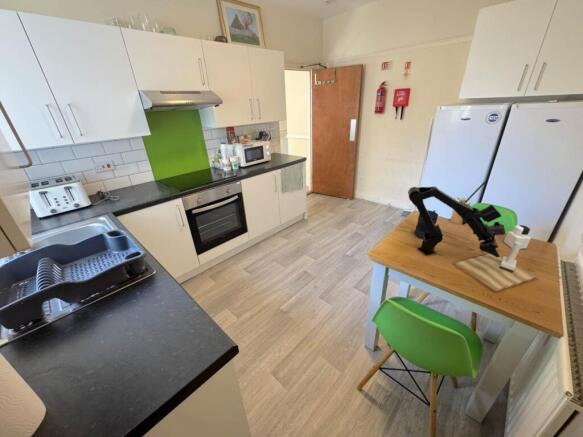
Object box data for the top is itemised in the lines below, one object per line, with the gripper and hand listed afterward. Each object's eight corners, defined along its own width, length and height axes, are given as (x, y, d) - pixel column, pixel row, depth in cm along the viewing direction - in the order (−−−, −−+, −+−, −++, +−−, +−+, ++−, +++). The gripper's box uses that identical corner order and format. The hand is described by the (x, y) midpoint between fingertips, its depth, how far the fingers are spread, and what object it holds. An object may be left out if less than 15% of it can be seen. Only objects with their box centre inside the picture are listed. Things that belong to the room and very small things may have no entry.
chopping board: (494, 292, 104) (495, 289, 104) (454, 264, 121) (455, 262, 121) (535, 278, 111) (536, 276, 110) (491, 254, 128) (492, 252, 127)
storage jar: (410, 233, 149) (416, 207, 141) (421, 229, 152) (428, 204, 144) (424, 241, 141) (431, 214, 133) (435, 237, 144) (443, 210, 136)
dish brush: (512, 273, 113) (524, 248, 106) (499, 268, 116) (510, 244, 109) (514, 265, 118) (526, 241, 111) (501, 260, 121) (512, 237, 114)
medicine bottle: (516, 241, 137) (525, 223, 132) (526, 249, 131) (535, 230, 125) (503, 241, 138) (511, 223, 132) (512, 248, 132) (521, 229, 126)
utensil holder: (470, 226, 155) (486, 182, 141) (450, 224, 157) (464, 181, 143) (462, 218, 164) (477, 176, 150) (444, 217, 166) (457, 176, 152)
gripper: (498, 227, 105) (520, 256, 104) (495, 211, 118) (515, 237, 118) (470, 237, 112) (491, 264, 112) (471, 221, 126) (489, 245, 125)
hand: (497, 252), depth 116 cm, fingers open, 9 cm apart
